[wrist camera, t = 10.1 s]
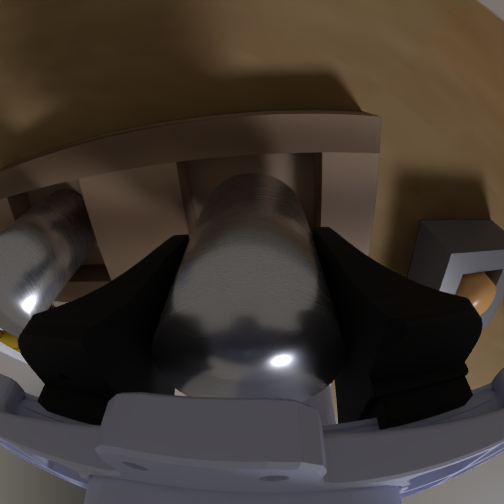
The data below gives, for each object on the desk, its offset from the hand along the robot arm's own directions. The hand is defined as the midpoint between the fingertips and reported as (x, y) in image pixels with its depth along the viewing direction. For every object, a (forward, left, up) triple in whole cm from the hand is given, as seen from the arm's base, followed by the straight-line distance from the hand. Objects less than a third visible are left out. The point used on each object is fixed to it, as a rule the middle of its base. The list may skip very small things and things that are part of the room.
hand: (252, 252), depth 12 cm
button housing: (-5, -14, -5) cm, 16 cm away
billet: (0, +12, -5) cm, 13 cm away
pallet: (0, +6, -5) cm, 8 cm away
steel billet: (0, 0, -2) cm, 3 cm away
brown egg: (-5, -14, -4) cm, 15 cm away
